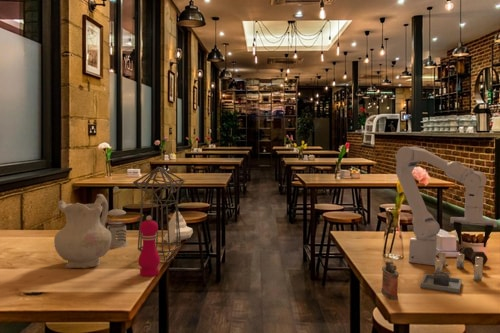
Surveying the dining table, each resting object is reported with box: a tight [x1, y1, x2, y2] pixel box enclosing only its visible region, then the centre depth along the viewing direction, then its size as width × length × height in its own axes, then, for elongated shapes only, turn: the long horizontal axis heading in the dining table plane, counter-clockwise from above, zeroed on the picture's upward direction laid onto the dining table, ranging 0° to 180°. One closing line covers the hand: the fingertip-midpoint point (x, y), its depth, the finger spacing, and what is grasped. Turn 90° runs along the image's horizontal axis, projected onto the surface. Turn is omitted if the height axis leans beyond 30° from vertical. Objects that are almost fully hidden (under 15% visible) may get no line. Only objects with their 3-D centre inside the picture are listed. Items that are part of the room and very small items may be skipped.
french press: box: [104, 186, 129, 249], centre depth 194 cm, size 10×12×25 cm
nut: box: [433, 270, 451, 287], centre depth 146 cm, size 4×5×4 cm
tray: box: [420, 273, 462, 295], centre depth 147 cm, size 11×11×2 cm
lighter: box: [381, 260, 399, 301], centre depth 137 cm, size 8×3×10 cm, turn 5°
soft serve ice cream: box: [163, 210, 194, 243], centre depth 205 cm, size 12×15×14 cm
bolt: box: [458, 246, 488, 267], centre depth 176 cm, size 6×5×15 cm
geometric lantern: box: [132, 166, 186, 264], centre depth 173 cm, size 16×16×35 cm
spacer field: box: [434, 251, 484, 282], centre depth 160 cm, size 14×15×5 cm
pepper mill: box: [138, 215, 161, 278], centre depth 156 cm, size 7×7×20 cm
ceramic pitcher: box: [53, 193, 112, 269], centre depth 168 cm, size 22×20×25 cm
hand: (472, 245), depth 161 cm, fingers open, 7 cm apart
